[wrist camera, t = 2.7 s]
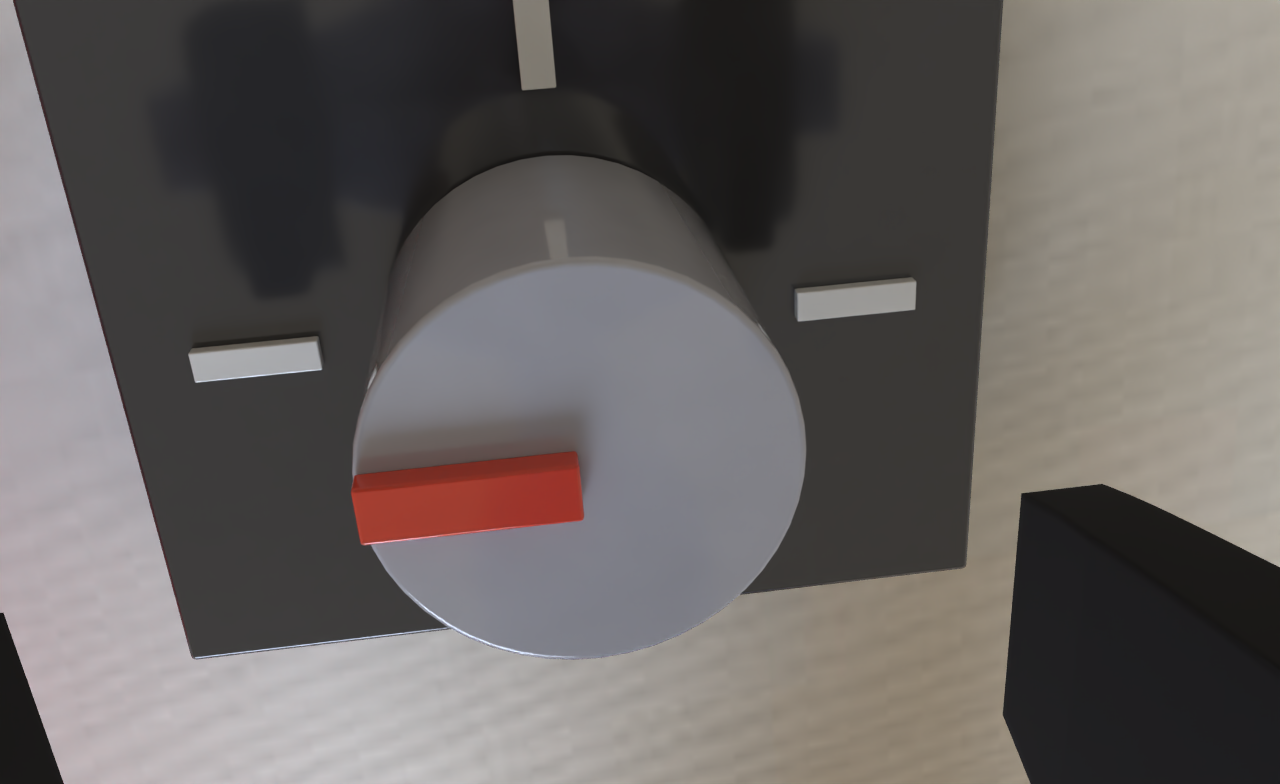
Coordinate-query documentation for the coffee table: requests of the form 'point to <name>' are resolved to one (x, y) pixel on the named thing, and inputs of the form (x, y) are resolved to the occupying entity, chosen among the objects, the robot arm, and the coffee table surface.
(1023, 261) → the coffee table surface
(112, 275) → the hob panel
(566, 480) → the stove knob
